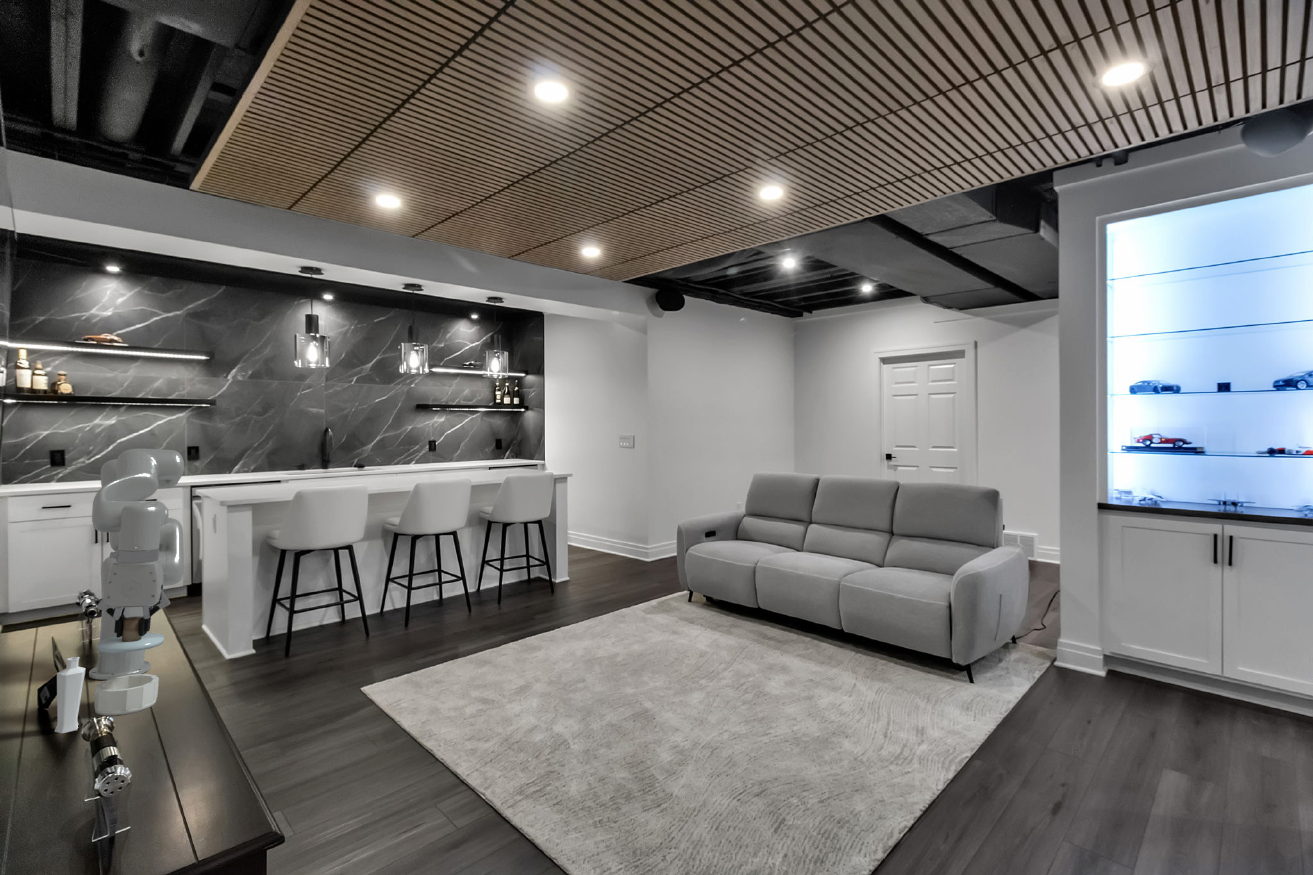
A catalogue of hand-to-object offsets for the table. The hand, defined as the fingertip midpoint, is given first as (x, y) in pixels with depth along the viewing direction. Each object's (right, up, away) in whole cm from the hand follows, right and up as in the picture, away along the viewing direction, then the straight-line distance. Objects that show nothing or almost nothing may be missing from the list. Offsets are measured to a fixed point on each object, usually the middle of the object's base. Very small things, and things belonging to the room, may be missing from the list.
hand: (132, 634), depth 148 cm
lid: (0, -2, 0) cm, 2 cm away
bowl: (-1, -17, 0) cm, 17 cm away
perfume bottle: (-3, -16, -13) cm, 21 cm away
